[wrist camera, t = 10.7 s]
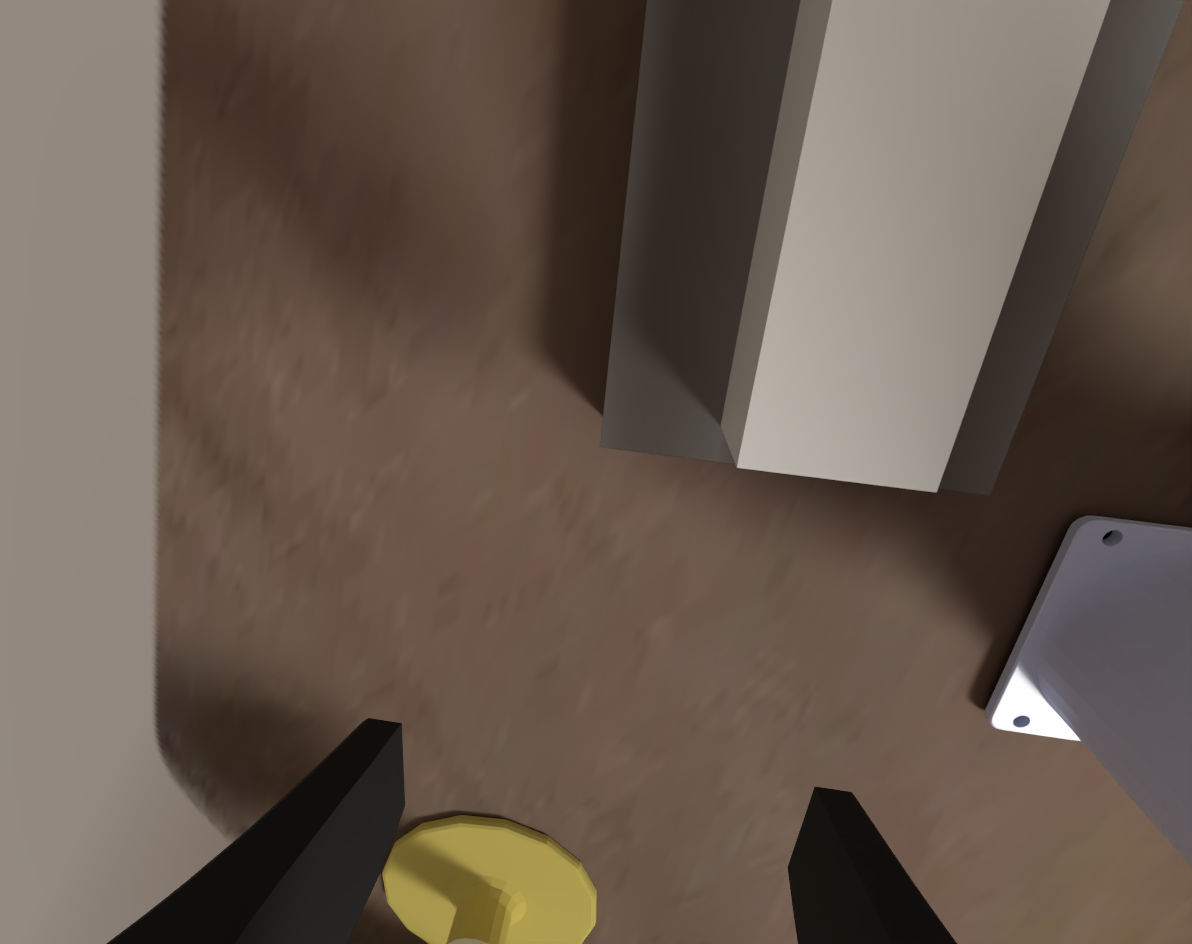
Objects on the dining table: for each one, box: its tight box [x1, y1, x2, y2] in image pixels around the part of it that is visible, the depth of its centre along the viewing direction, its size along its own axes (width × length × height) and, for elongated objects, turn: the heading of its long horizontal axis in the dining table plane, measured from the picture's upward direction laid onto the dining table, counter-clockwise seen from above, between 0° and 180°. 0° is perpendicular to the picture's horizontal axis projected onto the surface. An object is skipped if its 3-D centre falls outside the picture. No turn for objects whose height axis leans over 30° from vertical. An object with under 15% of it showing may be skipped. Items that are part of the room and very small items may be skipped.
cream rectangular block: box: [721, 0, 1110, 493], centre depth 12 cm, size 4×12×6 cm, turn 175°
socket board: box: [600, 0, 1184, 496], centre depth 13 cm, size 10×14×2 cm
